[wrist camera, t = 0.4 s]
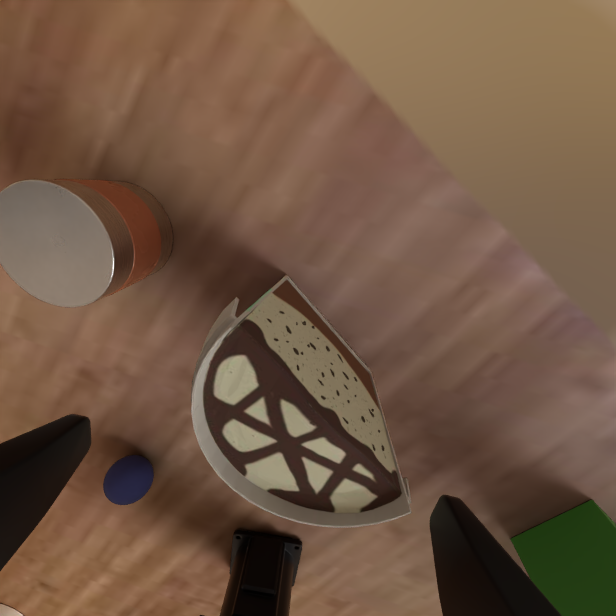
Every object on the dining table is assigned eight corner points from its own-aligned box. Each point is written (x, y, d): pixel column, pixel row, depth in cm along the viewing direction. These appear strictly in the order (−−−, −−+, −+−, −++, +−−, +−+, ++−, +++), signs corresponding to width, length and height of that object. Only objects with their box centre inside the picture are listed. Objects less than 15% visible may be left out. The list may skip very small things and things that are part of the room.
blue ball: (162, 479, 28) (139, 519, 25) (122, 473, 28) (94, 511, 25) (161, 449, 27) (137, 486, 24) (120, 442, 27) (90, 478, 24)
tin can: (174, 283, 22) (119, 318, 16) (87, 269, 22) (1, 298, 16) (174, 188, 19) (109, 189, 14) (76, 173, 19) (-28, 167, 14)
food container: (206, 312, 22) (115, 403, 13) (271, 256, 20) (219, 315, 11) (319, 426, 25) (311, 569, 16) (384, 386, 23) (418, 520, 14)
